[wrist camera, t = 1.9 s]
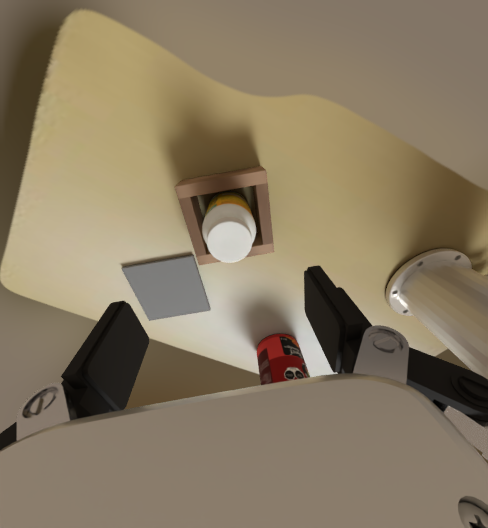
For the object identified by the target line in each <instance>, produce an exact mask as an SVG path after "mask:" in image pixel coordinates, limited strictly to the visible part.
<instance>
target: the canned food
mask: <svg viewBox="0 0 488 528" xmlns="http://www.w3.org/2000/svg"><path fill="white" fill-rule="evenodd" d="M257 358H258V365H259V373H260V380H261V385H266V384H272V383H278V382H284V381H290V380H296V379H303V378H309V377H310V375H309V373H308V370H307V367H306V364H305V361H304V359H303V356H302V353H301V350H300V347H299V344H298V343H297V341H296V340H295V339H294V338H293V337H292V336H290V335H287V334H274V335H271V336H268V337H266V338H265V339H263V340H262V341H261V342H260V343H259V345H258V348H257Z"/></svg>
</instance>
